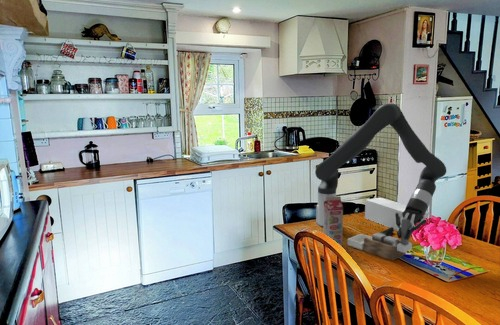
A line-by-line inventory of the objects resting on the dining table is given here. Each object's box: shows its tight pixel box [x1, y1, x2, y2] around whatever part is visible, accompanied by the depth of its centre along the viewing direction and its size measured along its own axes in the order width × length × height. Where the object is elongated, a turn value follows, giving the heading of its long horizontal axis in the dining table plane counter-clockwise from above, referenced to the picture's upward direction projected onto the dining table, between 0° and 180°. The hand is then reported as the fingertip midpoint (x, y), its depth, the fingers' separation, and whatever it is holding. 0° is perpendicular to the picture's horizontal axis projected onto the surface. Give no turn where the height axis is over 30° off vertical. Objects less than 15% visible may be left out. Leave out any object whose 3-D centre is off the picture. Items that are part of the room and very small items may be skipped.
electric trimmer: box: [379, 227, 395, 236], centre depth 172 cm, size 4×16×3 cm, turn 133°
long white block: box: [364, 197, 430, 232], centre depth 187 cm, size 32×11×11 cm, turn 23°
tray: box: [346, 233, 372, 251], centre depth 162 cm, size 8×10×3 cm
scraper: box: [397, 219, 413, 253], centre depth 145 cm, size 3×6×12 cm, turn 128°
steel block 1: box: [371, 232, 386, 243], centre depth 155 cm, size 4×4×4 cm
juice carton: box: [322, 196, 344, 247], centre depth 162 cm, size 7×7×22 cm
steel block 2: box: [384, 235, 399, 249], centre depth 150 cm, size 4×4×4 cm
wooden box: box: [363, 236, 407, 261], centre depth 153 cm, size 14×10×6 cm
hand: (402, 238), depth 144 cm, fingers closed on scraper, 2 cm apart
